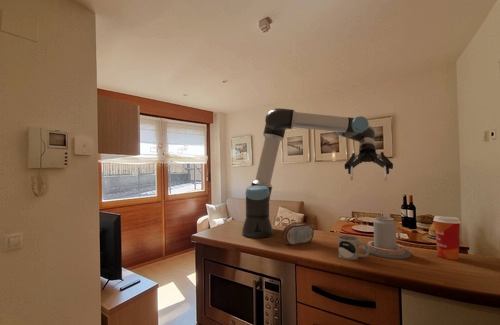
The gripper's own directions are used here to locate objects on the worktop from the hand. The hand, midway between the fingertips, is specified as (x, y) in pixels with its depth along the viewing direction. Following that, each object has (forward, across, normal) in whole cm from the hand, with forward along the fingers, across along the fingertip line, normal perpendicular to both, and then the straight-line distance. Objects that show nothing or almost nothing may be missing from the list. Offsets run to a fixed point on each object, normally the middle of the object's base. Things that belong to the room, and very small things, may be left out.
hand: (368, 178), depth 104 cm
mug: (+38, +5, -2) cm, 38 cm away
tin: (+32, +27, -8) cm, 43 cm away
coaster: (+28, -5, -11) cm, 31 cm away
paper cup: (+26, -25, -13) cm, 38 cm away
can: (+28, -5, -10) cm, 30 cm away
